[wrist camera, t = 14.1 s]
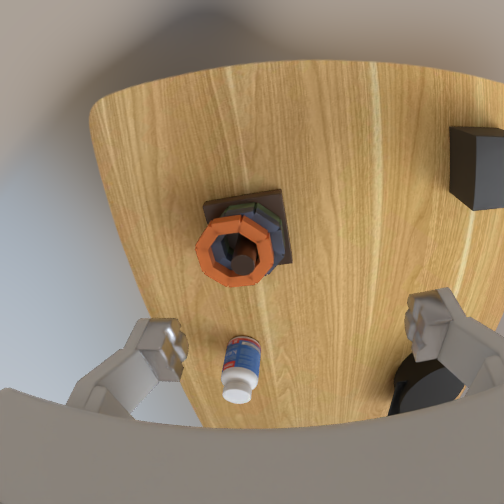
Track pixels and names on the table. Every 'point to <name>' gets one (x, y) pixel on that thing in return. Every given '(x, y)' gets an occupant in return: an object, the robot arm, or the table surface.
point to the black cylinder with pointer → (423, 385)
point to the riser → (477, 166)
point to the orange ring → (246, 229)
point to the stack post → (238, 246)
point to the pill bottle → (240, 369)
